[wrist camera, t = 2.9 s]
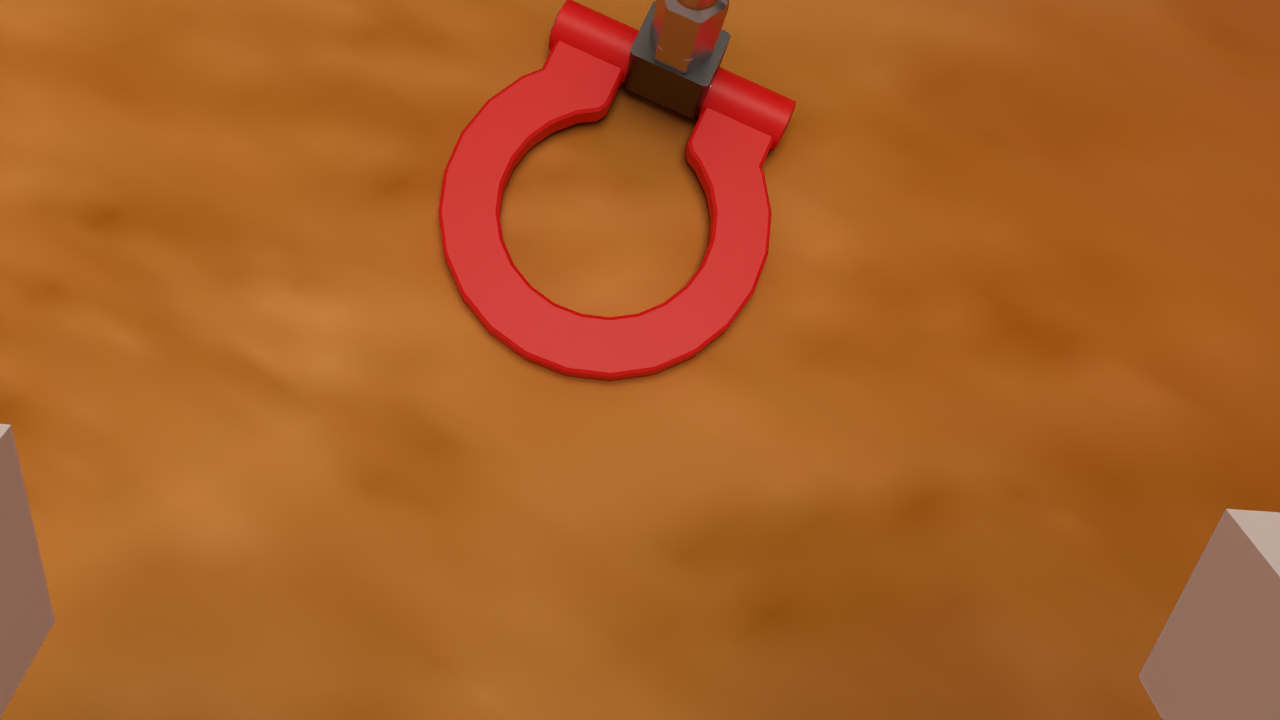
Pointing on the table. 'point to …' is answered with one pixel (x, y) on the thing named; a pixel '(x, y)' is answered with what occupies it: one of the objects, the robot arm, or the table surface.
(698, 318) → the tow hook
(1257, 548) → the robot arm
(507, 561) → the table surface
